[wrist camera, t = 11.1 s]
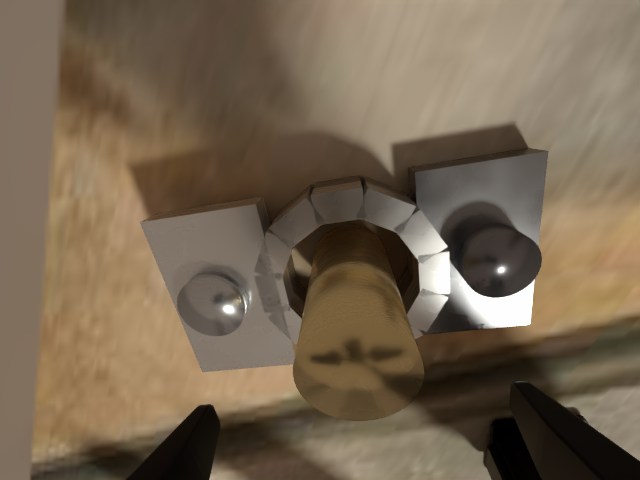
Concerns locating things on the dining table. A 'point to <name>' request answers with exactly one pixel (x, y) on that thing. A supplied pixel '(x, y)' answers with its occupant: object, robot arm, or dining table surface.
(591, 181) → the dining table surface
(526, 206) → the lower link
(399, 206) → the upper link
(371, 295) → the pin
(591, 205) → the dining table surface
